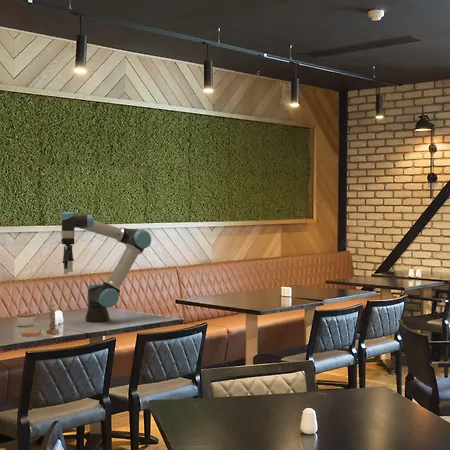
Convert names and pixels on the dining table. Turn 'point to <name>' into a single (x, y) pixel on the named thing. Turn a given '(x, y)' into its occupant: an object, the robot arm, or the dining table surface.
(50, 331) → the pusher
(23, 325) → the lidded jar
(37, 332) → the tile
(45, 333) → the rest pad
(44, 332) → the board
